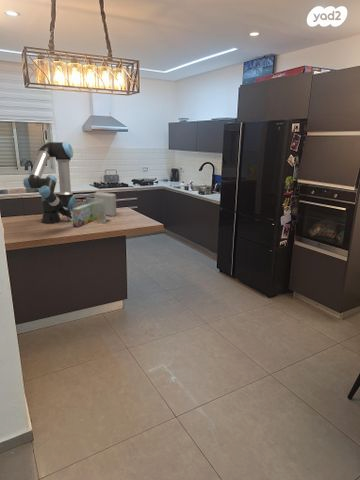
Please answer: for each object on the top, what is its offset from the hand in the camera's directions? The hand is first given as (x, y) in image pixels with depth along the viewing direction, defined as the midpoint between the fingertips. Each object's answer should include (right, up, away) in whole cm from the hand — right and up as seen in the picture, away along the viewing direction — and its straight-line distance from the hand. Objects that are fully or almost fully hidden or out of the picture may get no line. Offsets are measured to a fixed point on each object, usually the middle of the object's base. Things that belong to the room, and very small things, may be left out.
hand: (72, 220), depth 261 cm
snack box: (+5, -3, +12) cm, 13 cm away
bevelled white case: (+17, +8, +46) cm, 49 cm away
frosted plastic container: (+15, +1, +24) cm, 28 cm away
